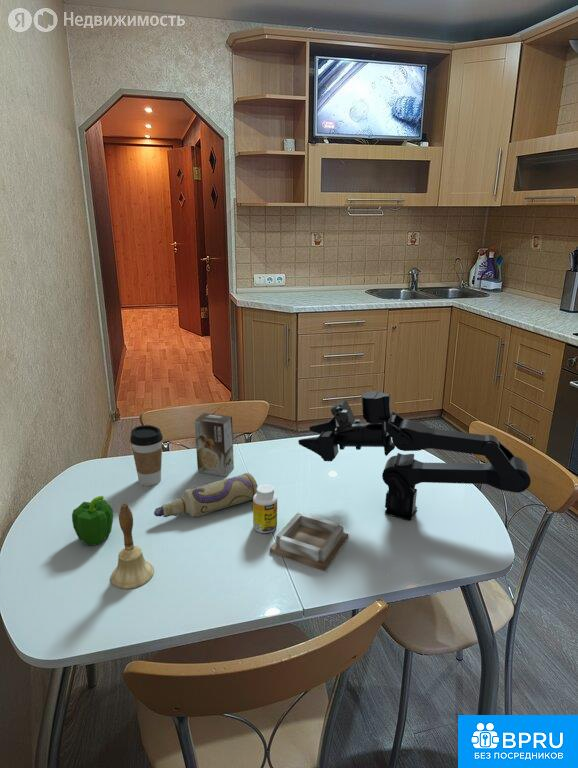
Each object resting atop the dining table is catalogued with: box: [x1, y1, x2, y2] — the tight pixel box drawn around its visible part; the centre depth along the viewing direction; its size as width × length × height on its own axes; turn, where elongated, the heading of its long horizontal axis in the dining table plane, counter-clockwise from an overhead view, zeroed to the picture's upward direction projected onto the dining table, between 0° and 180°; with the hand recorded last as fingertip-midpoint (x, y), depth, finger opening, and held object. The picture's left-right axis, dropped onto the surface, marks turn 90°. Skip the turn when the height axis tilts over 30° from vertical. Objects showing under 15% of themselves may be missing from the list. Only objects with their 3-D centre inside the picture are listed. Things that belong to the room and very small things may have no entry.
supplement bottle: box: [252, 483, 278, 534], centre depth 114 cm, size 6×6×10 cm
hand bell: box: [110, 502, 155, 590], centre depth 97 cm, size 8×8×16 cm
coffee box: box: [194, 412, 235, 477], centre depth 140 cm, size 9×6×16 cm
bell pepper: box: [71, 495, 114, 546], centre depth 109 cm, size 8×8×10 cm
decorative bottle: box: [153, 472, 258, 518], centre depth 122 cm, size 26×8×7 cm, turn 120°
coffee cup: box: [129, 424, 164, 487], centre depth 134 cm, size 8×8×15 cm
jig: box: [269, 512, 349, 572], centre depth 109 cm, size 13×13×4 cm
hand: (304, 435), depth 126 cm, fingers open, 9 cm apart
